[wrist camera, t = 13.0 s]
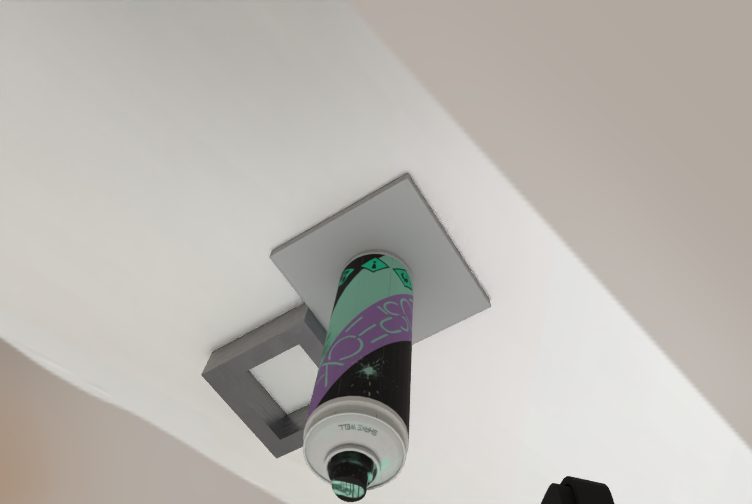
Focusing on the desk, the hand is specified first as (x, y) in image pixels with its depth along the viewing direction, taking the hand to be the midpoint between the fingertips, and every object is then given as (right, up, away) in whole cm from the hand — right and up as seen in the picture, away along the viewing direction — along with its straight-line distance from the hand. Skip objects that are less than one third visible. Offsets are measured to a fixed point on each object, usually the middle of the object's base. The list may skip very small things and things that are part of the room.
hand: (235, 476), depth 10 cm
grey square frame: (-5, -6, +44) cm, 45 cm away
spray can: (+2, +1, +39) cm, 39 cm away
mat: (+3, +2, +40) cm, 40 cm away
